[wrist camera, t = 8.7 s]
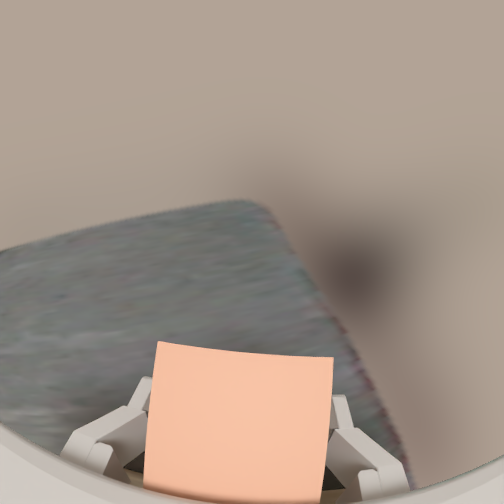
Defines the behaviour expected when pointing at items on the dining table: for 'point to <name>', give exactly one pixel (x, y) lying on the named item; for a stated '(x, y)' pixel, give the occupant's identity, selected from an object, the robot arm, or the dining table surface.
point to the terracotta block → (237, 426)
